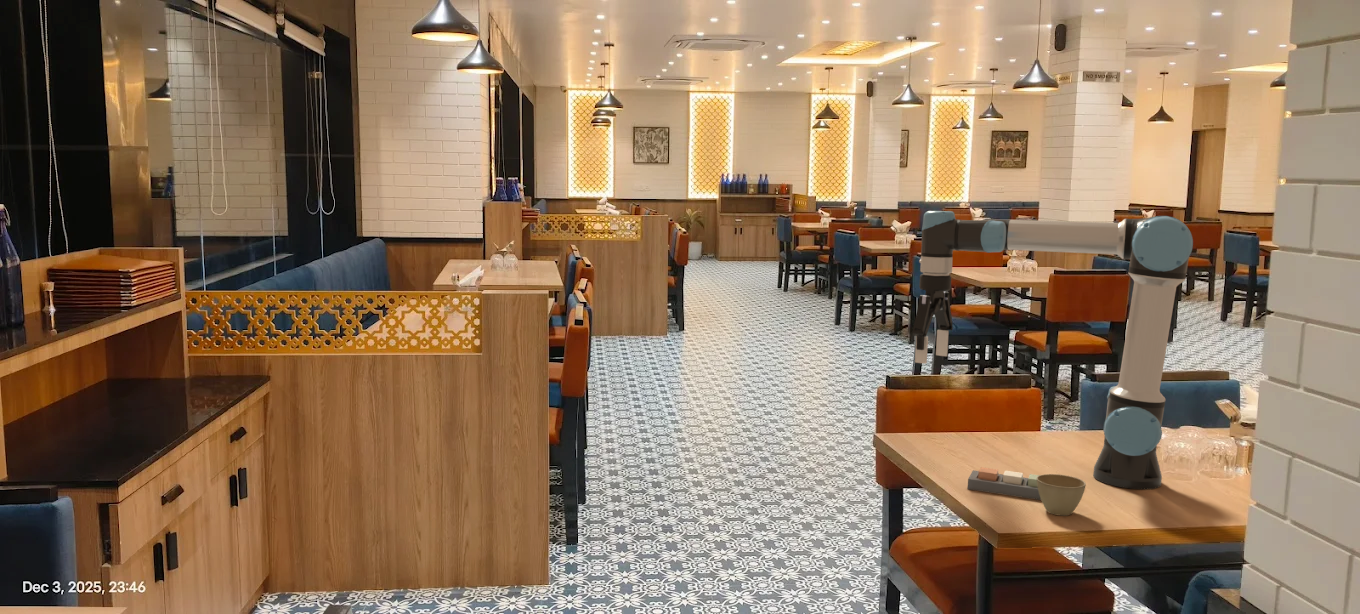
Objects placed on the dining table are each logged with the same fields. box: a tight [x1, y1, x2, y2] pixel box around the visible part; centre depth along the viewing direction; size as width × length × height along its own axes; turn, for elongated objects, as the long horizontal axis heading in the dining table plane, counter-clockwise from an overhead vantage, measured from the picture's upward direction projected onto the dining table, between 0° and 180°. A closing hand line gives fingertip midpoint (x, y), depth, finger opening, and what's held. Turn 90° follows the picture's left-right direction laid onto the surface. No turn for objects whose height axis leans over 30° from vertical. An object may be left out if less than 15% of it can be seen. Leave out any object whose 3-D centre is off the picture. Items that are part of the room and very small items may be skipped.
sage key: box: [1027, 473, 1040, 487], centre depth 224 cm, size 4×4×2 cm
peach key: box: [978, 466, 999, 481], centre depth 229 cm, size 4×4×2 cm
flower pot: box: [1037, 473, 1087, 517], centre depth 212 cm, size 10×10×7 cm
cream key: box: [1003, 470, 1024, 485], centre depth 227 cm, size 4×4×2 cm
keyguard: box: [967, 469, 1042, 501], centre depth 227 cm, size 19×8×2 cm, turn 66°
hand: (931, 359), depth 242 cm, fingers open, 13 cm apart
